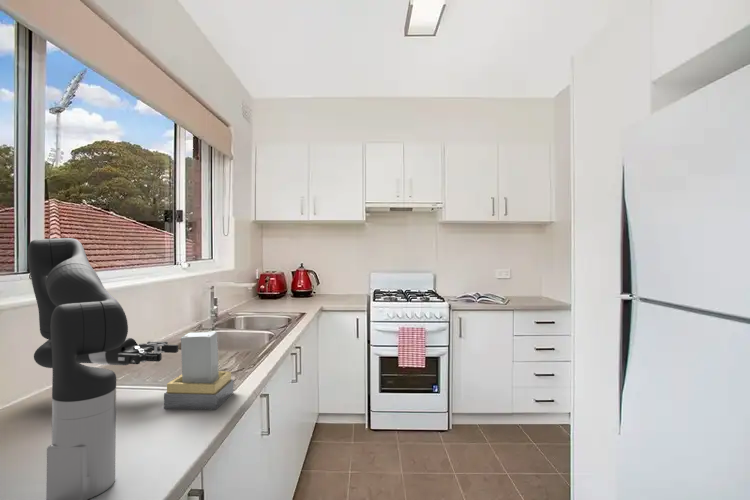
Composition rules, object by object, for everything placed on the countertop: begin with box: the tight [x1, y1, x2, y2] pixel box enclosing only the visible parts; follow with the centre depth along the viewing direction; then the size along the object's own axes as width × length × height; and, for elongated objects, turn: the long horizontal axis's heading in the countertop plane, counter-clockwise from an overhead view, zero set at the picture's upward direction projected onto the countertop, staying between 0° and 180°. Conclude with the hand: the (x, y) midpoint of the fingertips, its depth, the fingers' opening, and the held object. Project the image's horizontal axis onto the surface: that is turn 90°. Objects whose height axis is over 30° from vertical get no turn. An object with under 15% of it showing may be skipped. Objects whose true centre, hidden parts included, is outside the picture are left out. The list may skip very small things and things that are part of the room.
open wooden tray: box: [163, 370, 234, 411], centre depth 111 cm, size 15×14×6 cm
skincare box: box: [180, 331, 219, 383], centre depth 110 cm, size 8×6×15 cm
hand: (169, 352), depth 110 cm, fingers open, 8 cm apart
